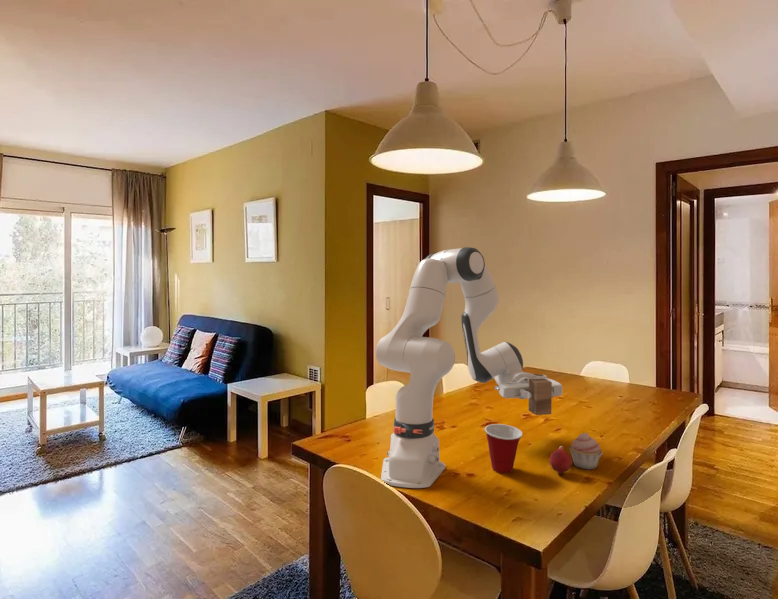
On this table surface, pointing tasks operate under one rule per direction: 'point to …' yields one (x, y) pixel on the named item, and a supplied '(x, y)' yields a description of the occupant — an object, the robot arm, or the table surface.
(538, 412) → the walnut block
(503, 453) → the plastic cup
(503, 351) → the robot arm
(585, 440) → the cupcake
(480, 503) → the table surface
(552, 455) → the onion
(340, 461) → the table surface
